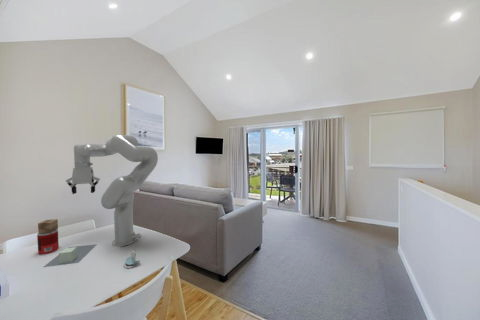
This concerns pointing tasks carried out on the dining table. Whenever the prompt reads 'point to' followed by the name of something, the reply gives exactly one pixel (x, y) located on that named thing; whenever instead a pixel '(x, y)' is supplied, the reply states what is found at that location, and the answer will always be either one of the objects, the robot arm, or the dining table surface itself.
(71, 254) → the sage block
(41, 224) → the walnut block
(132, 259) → the pacifier
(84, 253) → the mat
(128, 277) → the dining table surface
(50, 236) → the canned food
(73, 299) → the dining table surface
